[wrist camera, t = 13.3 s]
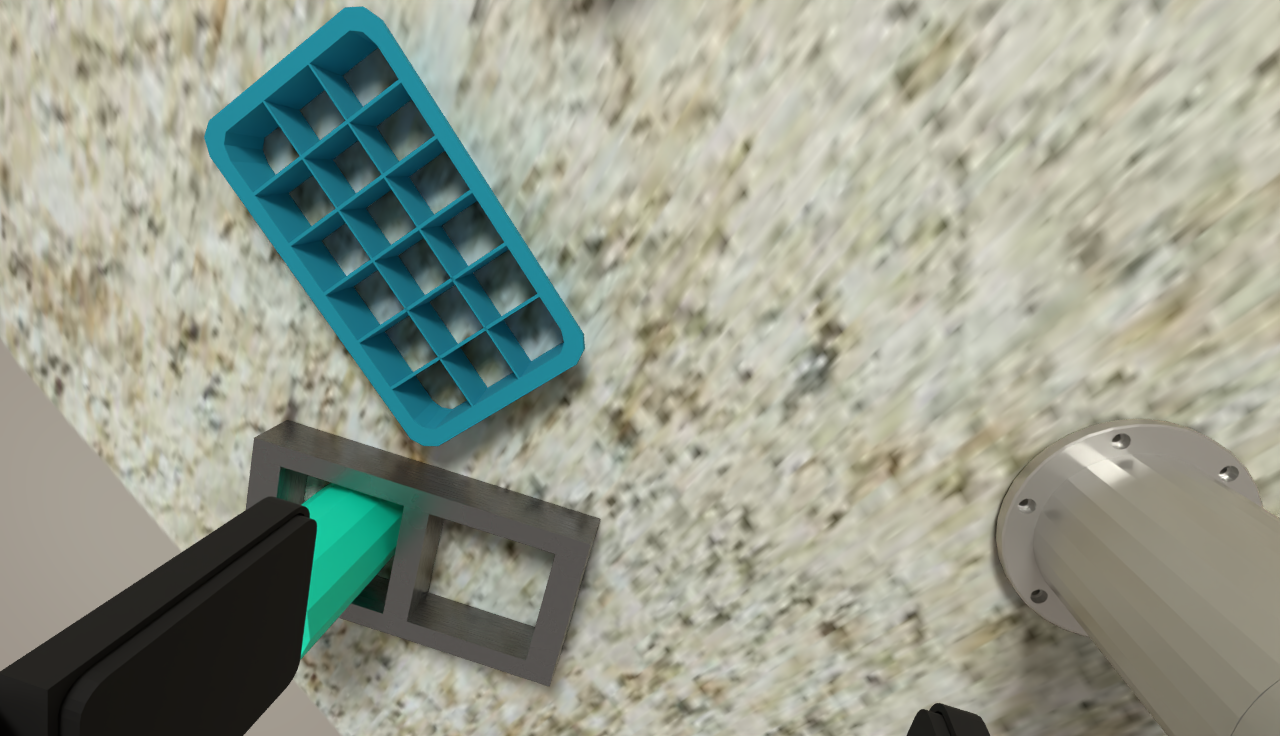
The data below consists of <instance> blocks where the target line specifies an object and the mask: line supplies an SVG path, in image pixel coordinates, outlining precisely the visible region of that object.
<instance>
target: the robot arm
mask: <svg viewBox="0 0 1280 736" xmlns="http://www.w3.org/2000/svg"><path fill="white" fill-rule="evenodd" d="M1022 500H1024V501H1022ZM1021 501H1022V502H1021ZM316 534H317V523H316V521H315V520H314V519H311V518H310V513H309V509H308V508H307V507H305V506H302V505H299V504H296V503H293V502H290V501H286V500H283V499H280V498H277V497H273V496H269V497H266V498H264V499H262V500H261V501H259V502H258V503H256V504H255V505H253V506H252V507H250V508H249V509H247V510H246V511H244V512H243V513H241V514H239V515H238V516H236V517H235V518H233V519H232V520H230V521H229V522H227V523H226V524H224V525H223V526H221V527H220V528H218V529H217V530H215V531H214V532H212V533H211V534H209V535H207V536H206V537H204V538H203V539H201V540H200V541H198V542H197V543H195V544H194V545H192V546H191V547H189V548H188V549H186V550H185V551H183V552H182V553H180V554H179V555H177V556H175V557H174V558H172V559H171V560H169V561H168V562H166V563H165V564H164V565H162V566H160V567H159V568H157V569H156V570H154V571H153V572H151V573H150V574H148V575H147V576H145V577H144V578H142V579H141V580H139V581H138V582H136V583H134V584H133V585H132V586H130V587H128V588H127V589H125V590H124V591H122V592H121V593H119V594H118V595H116V596H115V597H113V598H112V599H110V600H108V601H107V602H105V603H104V604H103V605H101V606H99V607H98V608H96V609H95V610H93V611H92V612H90V613H89V614H88V615H86V616H84V617H83V618H81V619H80V620H78V621H76V622H75V623H73V624H72V625H70V626H69V627H67V628H66V629H64V630H63V631H61V632H60V633H58V634H57V635H55V636H54V637H52V638H51V639H49V640H48V641H46V642H45V643H43V644H41V645H40V646H38V647H37V648H35V649H34V650H32V651H31V652H29V653H28V654H26V655H25V656H23V657H22V658H20V659H19V660H17V661H16V662H14V663H13V664H11V665H9V666H8V667H6V668H5V669H3V670H2V671H0V736H243V735H244V734H245V733H246V732H247V731H248V730H249V729H250V727H251V726H252V725H253V724H254V723H255V722H256V721H257V719H259V717H260V716H261V715H262V714H263V713H264V712H265V711H266V710H267V708H269V706H270V705H271V704H272V703H273V702H274V701H275V700H276V699H277V697H278V696H279V695H280V694H281V693H282V692H283V691H284V690H285V689H286V688H287V686H288V685H289V684H290V682H291V681H292V679H293V677H294V676H295V674H296V671H297V669H298V666H299V663H300V658H301V650H302V643H303V635H304V627H305V619H306V612H307V604H308V596H309V589H310V581H311V573H312V565H313V558H314V550H315V542H316ZM996 543H997V550H998V557H999V560H1000V562H1001V565H1002V567H1003V570H1004V573H1005V575H1006V577H1007V578H1008V580H1009V581H1010V583H1011V584H1012V586H1013V587H1014V589H1015V591H1016V592H1017V593H1018V595H1019V596H1020V597H1021V598H1022V600H1023V601H1024V602H1025V603H1026V604H1027V605H1028V606H1029V607H1030V608H1031V609H1032V610H1033V611H1035V612H1036V613H1037V614H1039V615H1040V616H1041V617H1042V618H1044V619H1045V620H1047V621H1048V622H1050V623H1052V624H1054V625H1056V626H1058V627H1060V628H1062V629H1064V630H1067V631H1070V632H1073V633H1076V634H1079V635H1083V636H1086V637H1090V638H1091V640H1092V641H1093V642H1094V643H1095V645H1096V646H1097V647H1098V648H1099V650H1100V651H1101V652H1102V653H1103V655H1104V656H1105V657H1106V659H1107V660H1108V661H1109V662H1110V664H1111V665H1112V666H1113V667H1114V669H1115V670H1116V671H1117V672H1118V674H1119V675H1120V676H1121V677H1122V679H1123V680H1124V681H1125V682H1126V684H1127V685H1128V686H1129V688H1130V689H1131V690H1132V691H1133V693H1134V694H1135V695H1136V696H1137V698H1138V699H1139V700H1140V701H1141V703H1142V704H1143V705H1144V706H1145V708H1146V709H1147V710H1148V711H1149V713H1150V714H1151V715H1152V716H1153V718H1154V719H1155V720H1156V722H1157V723H1158V724H1159V725H1160V727H1161V728H1162V729H1163V730H1164V732H1165V733H1166V734H1167V735H1168V736H1280V518H1279V517H1277V516H1275V515H1274V514H1272V513H1270V512H1269V511H1267V510H1266V509H1264V508H1263V504H1262V501H1261V498H1260V494H1259V491H1258V487H1257V485H1256V483H1255V482H1254V480H1253V478H1252V477H1251V475H1250V473H1249V471H1248V470H1247V468H1246V467H1245V466H1244V465H1243V464H1242V463H1241V462H1240V461H1239V460H1238V459H1237V458H1236V457H1235V455H1234V454H1233V453H1232V452H1231V451H1229V450H1228V449H1226V448H1225V447H1223V446H1222V445H1220V444H1219V443H1217V442H1215V441H1214V440H1212V439H1211V438H1209V437H1207V436H1205V435H1203V434H1201V433H1199V432H1197V431H1195V430H1193V429H1191V428H1188V427H1184V426H1181V425H1178V424H1174V423H1171V422H1168V421H1160V420H1151V419H1124V420H1114V421H1109V422H1105V423H1100V424H1096V425H1091V426H1089V427H1086V428H1084V429H1081V430H1079V431H1076V432H1073V433H1071V434H1068V435H1067V436H1065V437H1063V438H1062V439H1060V440H1058V441H1056V442H1055V443H1053V444H1051V445H1050V446H1048V447H1046V448H1045V449H1044V450H1043V451H1042V452H1041V453H1039V454H1038V455H1037V456H1036V457H1035V458H1033V459H1032V460H1031V461H1030V462H1029V463H1028V464H1027V465H1026V466H1025V468H1024V469H1023V470H1022V471H1021V472H1020V474H1019V475H1018V476H1017V477H1016V478H1015V480H1014V481H1013V483H1012V485H1011V487H1010V488H1009V490H1008V492H1007V494H1006V496H1005V498H1004V500H1003V503H1002V506H1001V509H1000V512H999V516H998V519H997V531H996ZM907 736H990V734H989V732H988V730H987V727H986V725H985V723H984V722H983V720H982V718H981V717H979V716H978V715H976V714H973V713H970V712H967V711H964V710H960V709H957V708H954V707H951V706H947V705H944V704H941V703H936V704H934V705H933V706H932V707H931V708H930V710H929V711H928V710H925V709H921V710H920V711H919V712H918V713H917V714H916V716H915V718H914V720H913V723H912V725H911V727H910V729H909V731H908V733H907Z"/></svg>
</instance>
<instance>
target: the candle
mask: <svg viewBox="0 0 1280 736" xmlns="http://www.w3.org/2000/svg"><path fill="white" fill-rule="evenodd" d="M301 505H302V506H305V507H307V508H308V509H309V513H310V518H311V519H314V520H315V521H316V523H317V534H316V542H315V550H314V558H313V565H312V573H311V581H310V589H309V596H308V604H307V612H306V619H305V627H304V635H303V643H302V650H301V658H300V660H301V659H302V657H303V656H304V655H305V654H306V653H307V652H308V651H309V650H310V649H311V647H312V646H313V645H314V644H315V643H316V642H317V641H318V640H319V638H320V637H321V636H322V635H323V634H324V633H325V632H326V631H327V630H328V628H329V627H330V626H331V625H332V624H333V623H334V622H335V621H336V620H337V618H338V617H339V616H340V615H341V614H342V613H343V612H344V611H345V609H346V608H347V607H348V606H349V605H350V604H351V603H352V602H353V601H354V599H355V598H356V597H357V596H358V595H359V594H360V593H361V592H362V590H363V589H364V588H365V587H366V586H367V585H368V584H369V583H370V582H371V580H372V579H373V578H374V577H375V576H376V575H377V574H378V573H379V572H380V570H381V569H382V568H383V567H384V566H385V565H386V564H387V563H388V561H389V560H390V559H391V558H392V557H393V556H394V555H395V551H396V545H397V540H398V535H399V530H400V525H401V520H402V515H403V510H404V506H403V505H400V504H397V503H394V502H391V501H388V500H384V499H381V498H378V497H375V496H372V495H369V494H366V493H362V492H359V491H356V490H353V489H350V488H347V487H344V486H341V485H337V484H334V483H330V484H328V485H326V486H325V487H324V488H323V489H321V490H320V491H319V492H317V493H316V494H315V495H313V496H312V497H311V498H309V499H308V500H307V501H305V502H304V503H303V504H301Z"/></svg>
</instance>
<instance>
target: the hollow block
mask: <svg viewBox="0 0 1280 736" xmlns="http://www.w3.org/2000/svg"><path fill="white" fill-rule="evenodd" d="M307 475H309V476H312V477H315V478H319V479H322V480H325V481H328V482H331V483H334V484H337V485H341V486H344V487H347V488H350V489H353V490H356V491H359V492H362V493H366V494H369V495H372V496H375V497H378V498H381V499H384V500H388V501H391V502H394V503H397V504H400V505H403V506H404V510H403V515H402V520H401V525H400V530H399V535H398V540H397V545H396V551H395V556H394V561H393V566H392V571H391V576H390V580H388V579H385V578H381V577H378V576H375V577H374V578H373V579H372V580H371V582H370V583H369V584H368V585H367V586H366V587H365V588H364V589H363V590H362V592H361V593H360V594H359V595H358V596H357V597H356V598H355V599H354V601H353V602H352V603H351V604H350V605H349V606H348V607H347V608H346V609H345V611H344V612H343V613H342V614H341V615H340V616H339V618H342V619H345V620H348V621H351V622H354V623H357V624H360V625H363V626H366V627H369V628H372V629H376V630H379V631H382V632H385V633H388V634H391V635H394V636H397V637H400V638H403V639H406V640H409V641H412V642H415V643H418V644H421V645H424V646H427V647H430V648H434V649H437V650H440V651H443V652H446V653H449V654H452V655H455V656H458V657H461V658H464V659H467V660H470V661H473V662H476V663H479V664H482V665H485V666H488V667H491V668H495V669H498V670H501V671H504V672H507V673H510V674H513V675H516V676H519V677H522V678H525V679H528V680H531V681H534V682H537V683H540V684H543V685H546V686H550V683H551V680H552V677H553V674H554V671H555V669H556V666H557V663H558V660H559V657H560V654H561V651H562V648H563V644H564V641H565V638H566V634H567V631H568V627H569V624H570V621H571V617H572V614H573V610H574V607H575V604H576V600H577V597H578V593H579V590H580V587H581V583H582V580H583V576H584V573H585V569H586V566H587V563H588V559H589V556H590V552H591V549H592V546H593V542H594V539H595V535H596V532H597V529H598V525H599V522H600V519H599V518H596V517H593V516H590V515H586V514H583V513H580V512H577V511H574V510H571V509H567V508H564V507H561V506H558V505H555V504H552V503H548V502H545V501H542V500H539V499H536V498H533V497H529V496H526V495H523V494H520V493H517V492H514V491H510V490H507V489H504V488H501V487H498V486H495V485H491V484H488V483H485V482H482V481H479V480H476V479H472V478H469V477H466V476H463V475H460V474H457V473H453V472H450V471H447V470H444V469H441V468H438V467H434V466H431V465H428V464H425V463H422V462H419V461H415V460H412V459H409V458H406V457H403V456H400V455H396V454H393V453H390V452H387V451H384V450H381V449H377V448H374V447H371V446H368V445H365V444H362V443H358V442H355V441H352V440H349V439H346V438H343V437H339V436H336V435H333V434H330V433H327V432H324V431H320V430H317V429H314V428H311V427H308V426H305V425H301V424H298V423H295V422H292V421H289V420H286V421H284V422H282V423H281V424H279V425H277V426H275V427H273V428H271V429H270V430H268V431H266V432H264V433H262V434H260V435H258V436H257V437H255V438H254V444H253V453H252V461H251V470H250V478H249V487H248V495H247V504H246V510H247V509H249V508H250V507H252V506H253V505H255V504H256V503H258V502H259V501H261V500H262V499H264V498H266V497H269V496H273V497H277V498H280V499H283V500H286V501H290V502H293V503H296V504H299V505H301V504H303V501H304V494H305V487H306V480H307ZM444 519H447V520H450V521H453V522H457V523H460V524H463V525H466V526H469V527H472V528H475V529H478V530H482V531H485V532H488V533H491V534H494V535H497V536H500V537H504V538H507V539H510V540H513V541H516V542H519V543H522V544H526V545H529V546H532V547H535V548H538V549H541V550H544V551H547V552H551V553H554V554H555V557H554V561H553V565H552V568H551V572H550V575H549V579H548V583H547V586H546V590H545V594H544V597H543V601H542V604H541V608H540V612H539V615H538V619H537V623H536V626H535V627H533V626H530V625H526V624H523V623H520V622H517V621H514V620H511V619H508V618H505V617H502V616H499V615H496V614H492V613H489V612H486V611H483V610H480V609H477V608H474V607H471V606H468V605H465V604H462V603H459V602H455V601H452V600H449V599H446V598H443V597H440V596H437V595H434V594H431V593H428V590H429V585H430V581H431V576H432V571H433V567H434V562H435V558H436V553H437V548H438V544H439V539H440V534H441V530H442V525H443V521H444Z"/></svg>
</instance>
